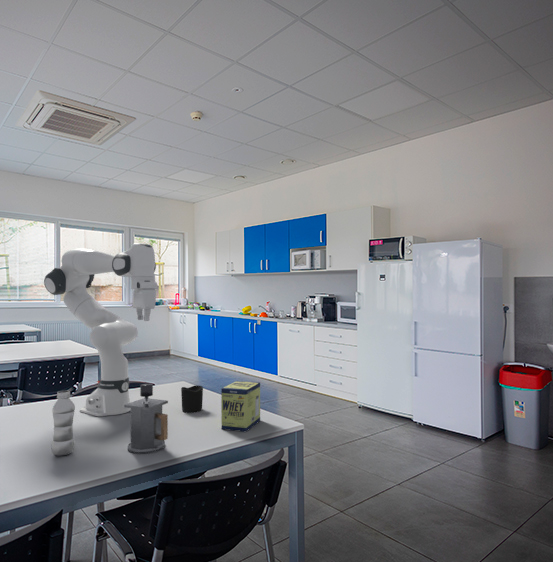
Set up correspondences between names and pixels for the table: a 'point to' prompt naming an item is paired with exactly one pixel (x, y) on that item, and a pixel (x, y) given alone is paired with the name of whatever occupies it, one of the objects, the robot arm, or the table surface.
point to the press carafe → (147, 426)
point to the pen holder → (192, 399)
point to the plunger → (146, 391)
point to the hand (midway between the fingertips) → (143, 320)
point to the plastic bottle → (63, 424)
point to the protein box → (240, 405)
